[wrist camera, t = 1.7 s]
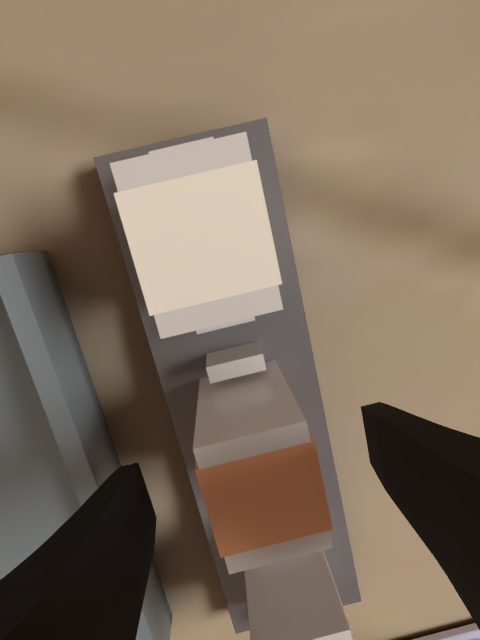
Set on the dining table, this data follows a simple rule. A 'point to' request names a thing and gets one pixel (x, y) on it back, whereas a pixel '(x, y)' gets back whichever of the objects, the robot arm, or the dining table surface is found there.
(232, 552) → the fuse marked
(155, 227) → the block
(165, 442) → the dining table surface
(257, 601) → the fuse
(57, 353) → the tray
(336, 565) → the block
